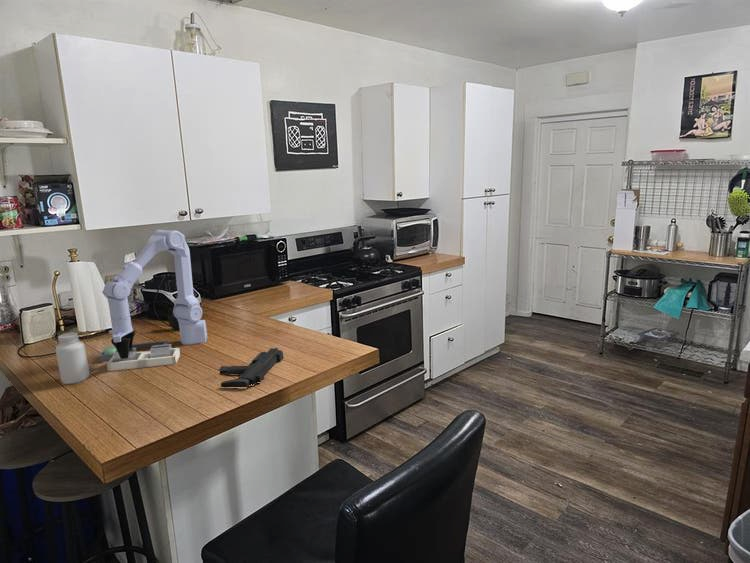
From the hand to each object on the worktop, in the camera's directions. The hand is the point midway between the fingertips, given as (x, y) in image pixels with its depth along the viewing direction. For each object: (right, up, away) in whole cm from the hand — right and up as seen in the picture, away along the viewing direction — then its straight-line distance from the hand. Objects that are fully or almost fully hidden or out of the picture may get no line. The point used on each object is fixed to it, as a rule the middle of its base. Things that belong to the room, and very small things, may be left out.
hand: (126, 355), depth 164 cm
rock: (+4, +5, +41) cm, 41 cm away
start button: (-9, -2, +8) cm, 12 cm away
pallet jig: (+6, -3, +2) cm, 7 cm away
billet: (0, -3, +1) cm, 3 cm away
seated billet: (+11, -2, +3) cm, 11 cm away
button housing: (-9, -3, +8) cm, 12 cm away
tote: (+1, -1, +12) cm, 12 cm away
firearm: (+40, -4, -3) cm, 41 cm away
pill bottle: (-12, -7, -8) cm, 16 cm away
